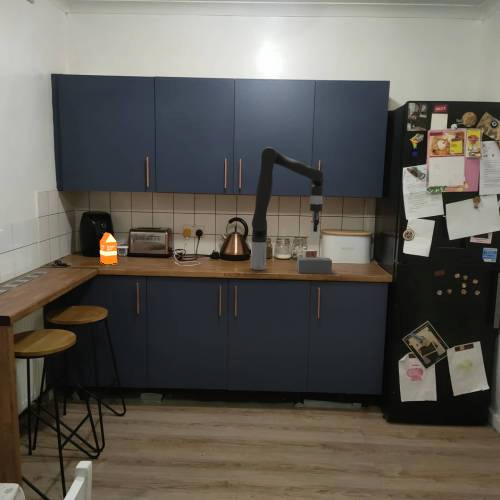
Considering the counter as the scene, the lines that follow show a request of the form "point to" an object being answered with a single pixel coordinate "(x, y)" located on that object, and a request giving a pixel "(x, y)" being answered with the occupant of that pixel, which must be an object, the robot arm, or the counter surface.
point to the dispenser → (314, 265)
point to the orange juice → (108, 249)
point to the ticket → (314, 233)
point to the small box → (310, 253)
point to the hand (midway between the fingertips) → (315, 231)
